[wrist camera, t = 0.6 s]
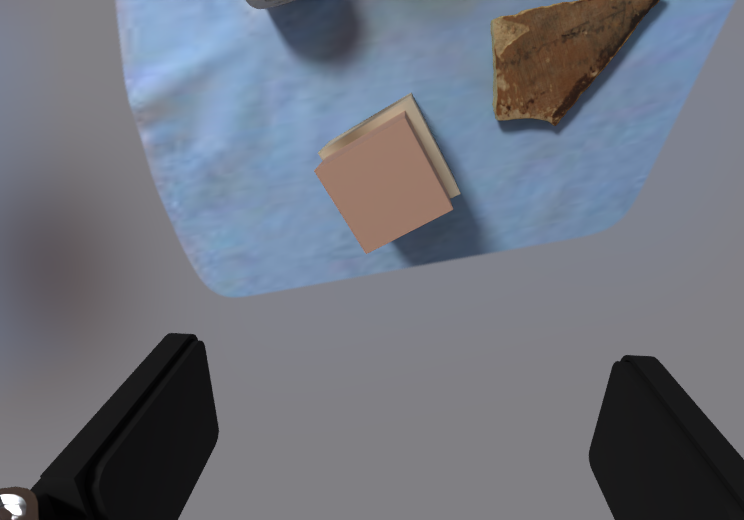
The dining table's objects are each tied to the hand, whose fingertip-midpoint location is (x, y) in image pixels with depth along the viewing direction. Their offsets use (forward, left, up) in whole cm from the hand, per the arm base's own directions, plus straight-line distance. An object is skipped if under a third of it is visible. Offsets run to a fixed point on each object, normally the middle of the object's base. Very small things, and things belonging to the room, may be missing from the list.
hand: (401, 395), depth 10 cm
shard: (-13, -3, -27) cm, 30 cm away
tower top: (+1, -1, -21) cm, 21 cm away
